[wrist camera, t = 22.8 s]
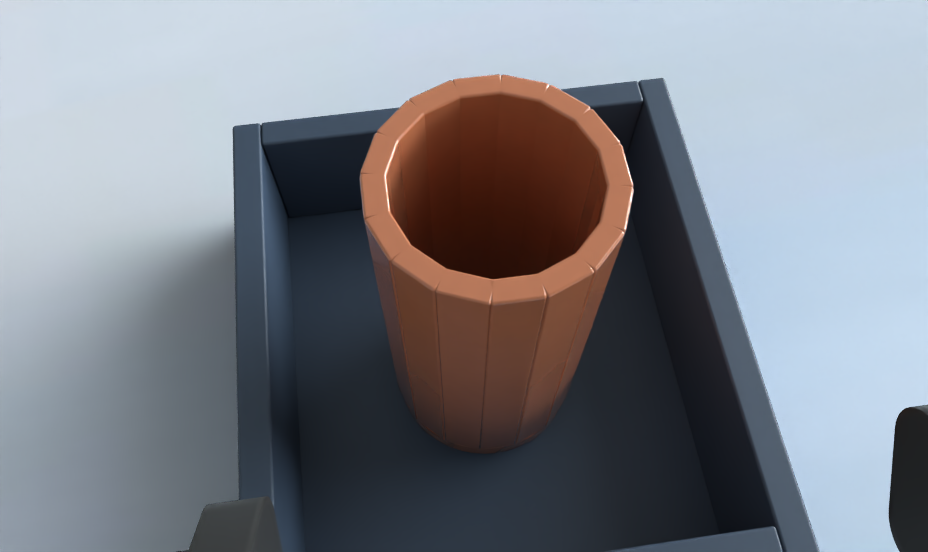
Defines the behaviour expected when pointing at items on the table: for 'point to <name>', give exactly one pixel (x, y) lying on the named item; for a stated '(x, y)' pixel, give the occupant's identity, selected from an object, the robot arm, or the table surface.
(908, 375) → the table surface
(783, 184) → the table surface
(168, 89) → the table surface
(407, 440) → the bin
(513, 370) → the cup
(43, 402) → the table surface
